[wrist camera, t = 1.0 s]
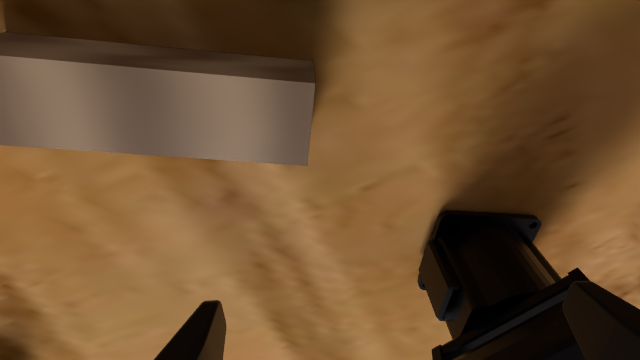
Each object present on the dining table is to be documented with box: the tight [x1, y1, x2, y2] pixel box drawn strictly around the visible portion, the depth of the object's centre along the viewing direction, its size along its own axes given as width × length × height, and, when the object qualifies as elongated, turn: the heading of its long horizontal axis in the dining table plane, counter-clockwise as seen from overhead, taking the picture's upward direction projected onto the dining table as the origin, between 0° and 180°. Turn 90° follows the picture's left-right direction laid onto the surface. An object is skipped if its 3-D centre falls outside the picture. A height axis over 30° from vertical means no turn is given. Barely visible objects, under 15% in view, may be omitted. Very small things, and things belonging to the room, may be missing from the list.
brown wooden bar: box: [0, 32, 315, 166], centre depth 17 cm, size 14×4×4 cm, turn 84°
